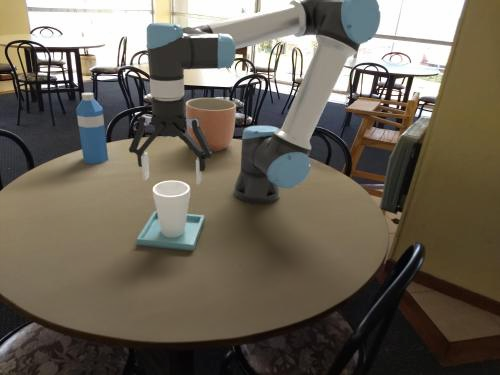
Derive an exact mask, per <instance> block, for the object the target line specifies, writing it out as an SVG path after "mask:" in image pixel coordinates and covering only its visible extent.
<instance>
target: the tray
mask: <svg viewBox="0 0 500 375" xmlns="http://www.w3.org/2000/svg"><path fill="white" fill-rule="evenodd" d="M204 223H205V215H203V214H193V213H191V214H190V213H187V218H186V226H185V232H184V233H183V234H182V235H181V236H178V237H174V238H173V237H166V236H164V235H163V234H162V233H161V229H160V224H159V220H158V215H157V210H154V211H153V212H152V214H151V215H150V217H149V219H148V220H147V222H146V224H145V225H144V227H143V228H142V229H141V232H140V233H139V235H138V236H137V238H136V245H137V246H139V247H146V248H147V247H148V248H158V249H167V250H175V251H176V250H178V251H188V252H194V250H195V248H196V245H197V243H198V241H199V240H198V239H199V237H200V234H201V233H202V229H203V227H204Z"/></svg>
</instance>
